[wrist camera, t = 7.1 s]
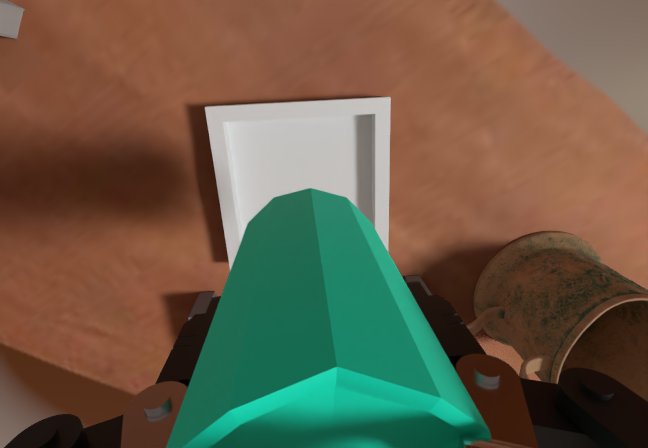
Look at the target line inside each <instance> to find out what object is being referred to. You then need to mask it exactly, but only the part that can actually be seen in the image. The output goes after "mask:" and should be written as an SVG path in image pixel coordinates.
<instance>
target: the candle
mask: <svg viewBox="0 0 648 448" xmlns="http://www.w3.org/2000/svg"><path fill="white" fill-rule="evenodd" d="M462 435H464V436H469V437H474V438H487V439H491V435H490V431H489V429H488V427H487V425H486V423H485V422H484V420H483V418H482V416H481V415H480V413H479V411H478V409H477V408H476V406H475V404H474V402H473V401H472V399H471V397H470V395H469V394H468V392H467V390H466V388H465V387H464V385H463V383H462V381H461V379H460V378H459V376H458V374H457V372H456V371H455V369H454V367H453V365H452V364H451V362H450V360H449V358H448V357H447V355H446V353H445V351H444V350H443V348H442V346H441V344H440V343H439V341H438V339H437V337H436V336H435V334H434V332H433V330H432V328H431V327H430V325H429V323H428V321H427V320H426V318H425V316H424V314H423V313H422V311H421V309H420V307H419V306H418V304H417V302H416V300H415V299H414V297H413V295H412V293H411V292H410V290H409V288H408V286H407V284H406V283H405V281H404V279H403V277H402V276H401V274H400V272H399V270H398V269H397V267H396V265H395V263H394V262H393V260H392V258H391V256H390V255H389V253H388V251H387V249H386V248H385V246H384V244H383V242H382V240H381V239H380V237H379V235H378V233H377V232H376V230H375V228H374V226H373V225H372V223H371V222H370V221H369V220H368V219H367V218H366V216H365V215H364V214H363V213H362V212H361V211H360V210H359V209H358V208H357V207H356V206H355V205H354V204H353V203H352V202H351V201H350V200H349V199H348V198H347V197H343V196H339V195H336V194H332V193H328V192H324V191H320V190H317V189H313V188H308V189H304V190H301V191H297V192H293V193H289V194H285V195H281V196H277V197H274V198H273V199H272V200H271V201H270V202H269V203H268V204H267V205H266V206H264V207H263V208H262V209H261V210H260V211H259V212H258V213H257V214H256V215H255V216H254V217H253V218H252V219H251V220H250V221H249V222H248V224H247V227H246V229H245V232H244V235H243V238H242V240H241V243H240V246H239V249H238V251H237V254H236V257H235V260H234V262H233V265H232V268H231V271H230V273H229V276H228V279H227V282H226V284H225V287H224V290H223V293H222V295H221V298H220V301H219V304H218V306H217V309H216V312H215V315H214V317H213V320H212V323H211V326H210V328H209V331H208V334H207V337H206V339H205V342H204V345H203V348H202V350H201V353H200V356H199V359H198V361H197V364H196V367H195V370H194V372H193V375H192V378H191V381H190V383H189V386H188V389H187V392H186V394H185V397H184V400H183V403H182V405H181V408H180V411H179V414H178V416H177V419H176V422H175V425H174V427H173V430H172V433H171V436H170V438H169V441H168V444H167V447H166V448H458V446H459V438H460V436H462Z"/></svg>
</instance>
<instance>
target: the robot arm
mask: <svg viewBox="0 0 648 448" xmlns="http://www.w3.org/2000/svg"><path fill="white" fill-rule="evenodd" d="M405 283H406V284H407V286H408V288H409V290H410V292H411V293H412V295H413V297H414V299H415V300H416V302H417V304H418V306H419V307H420V309H421V311H422V313H423V314H424V316H425V318H426V320H427V321H428V323H429V325H430V327H431V328H432V330H433V332H434V334H435V336H436V337H437V339H438V341H439V343H440V344H441V346H442V348H443V350H444V351H445V353H446V355H447V357H448V358H449V360H450V362H451V364H452V365H453V367H454V369H455V371H456V372H457V374H458V376H459V378H460V379H461V381H462V383H463V385H464V387H465V388H466V390H467V392H468V394H469V395H470V397H471V399H472V401H473V402H474V404H475V406H476V408H477V409H478V411H479V413H480V415H481V416H482V418H483V420H484V422H485V423H486V425H487V427H488V429H489V431H490V435H491V439H487V438H474V437H469V436H464V435H462V436H460V438H459V446H458V448H648V401H646V400H645V399H643V398H642V397H640V396H639V395H637V394H636V393H635V392H633V391H632V390H630V389H629V388H627V387H626V386H624V385H623V384H622V383H620V382H619V381H617V380H615V379H614V378H612V377H610V376H608V375H606V374H603V373H601V372H598V371H595V370H591V369H587V368H569V369H566V370H564V371H563V372H561V374H560V375H559V379H558V384H555V383H548V382H542V381H535V380H529V379H524V378H521V377H519V376H518V374H517V372H516V371H515V370H514V369H513V368H512V367H511V366H510V365H509V364H507V363H506V362H504V361H503V360H501V359H499V358H496V357H494V356H490V355H487V354H486V353H485V351H484V350H483V349H482V347H481V346H480V345H479V343H478V342H477V340H476V339H475V338H474V336H473V335H472V333H471V332H470V331H469V329H468V328H467V326H466V325H464V322H463V321H462V320H461V318H460V317H459V316H458V315H457V313H456V311H455V310H454V308H453V307H452V306H451V304H450V303H449V302H447V301H446V300H444V299H443V298H441V297H440V296H438V295H428V294H427V292H426V291H425V289H424V288H423V286H422V285H421V283H420V282H419V281H410V282H405ZM220 298H221V296H217V297H212V299H211V301H210V303H209V306H208V308H207V311H206V313H203V314H195V315H194V316H193V317H192V318H191V319H190V320H189V321H187V322H186V323H185V324H184V325H183V328H182V330H181V332H180V334H179V336H178V339H177V340H176V342H175V344H174V346H173V349H172V350H171V353H170V355H169V357H168V359H167V361H166V363H165V365H164V367H163V369H162V371H161V373H160V375H159V378H158V380H157V382H156V384H155V385H152V386H150V387H148V388H146V389H145V390H143V391H141V392H140V393H139V394H137V395H136V396H135V397H134V398H133V399H132V400H131V401H130V402H129V404H128V405H127V407H126V409H125V411H124V414H123V415H121V416H119V417H116V418H113V419H111V420H108V421H105V422H102V423H99V424H96V425H93V426H90V427H87V428H83V425H82V423H81V421H80V419H79V418H78V417H76V416H74V415H71V414H62V415H56V416H52V417H49V418H46V419H43V420H41V421H39V422H37V423H35V424H33V425H31V426H30V427H28V428H27V429H25V430H24V431H22V432H21V433H20V434H18V435H17V436H16V437H15V438H14V439H13V440H12V441H11V442H10V443H8V444H7V445H6V446H5V447H4V448H166V447H167V444H168V441H169V438H170V436H171V433H172V430H173V427H174V425H175V422H176V419H177V416H178V414H179V411H180V408H181V405H182V403H183V400H184V397H185V394H186V392H187V389H188V386H189V383H190V381H191V378H192V375H193V372H194V370H195V367H196V364H197V361H198V359H199V356H200V353H201V350H202V348H203V345H204V342H205V339H206V337H207V334H208V331H209V328H210V326H211V323H212V320H213V317H214V315H215V312H216V309H217V306H218V304H219V301H220Z"/></svg>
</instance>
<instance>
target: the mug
mask: <svg viewBox="0 0 648 448" xmlns="http://www.w3.org/2000/svg"><path fill="white" fill-rule="evenodd" d="M473 305H474V312H475V315H476V318H477V319H476V320H474V321H473V322H472V323H470V324H468V325H466V326H467V328H468V329H469V331H470V332H471V333H472V335H473V336H474V335H476V334H477V333H478V332H479V331H480V330H481V329H482V328H483V330H484V331H485V332H486V333H487V334H488V335H489V336H490V337H492V338H493V339H494V340H496V341H498V342H500V343H502V344H505V345H509V346H512V347H513V348H514V349H515V350H516V352H517V353H518V354H519V355H520V356H521V358H522V359H523V360H524V362H523V363H522V365H521V369H520V374H519V377H521V378H524V379H529V378H528V374H530V373H532V372H535V374H536V375H537V376H538V377H539V378H540V380H541V381H542V382H548V383H555V384H558V379H559V375H560V374H561V372H563V371H564V370H566V369H569V368H587V369H591V370H595V371H598V372H601V373H603V374H606V375H608V376H610V377H612V378H614V379H615V380H617V381H619V382H620V383H622V384H623V385H624V386H626V387H627V388H629V389H630V390H632V391H633V392H635V393H636V394H637V395H639V396H640V397H642V398H643V399H645V400H646V401H648V290H646V289H645V288H643V287H641V286H640V285H638V284H636V283H635V282H633V281H631V280H629V279H627V278H625V277H623V276H622V275H620V274H619V273H617V272H616V271H614V270H613V269H611V268H609V267H608V266H606V265H604V264H602V261H601V258H600V256H599V254H598V253H597V251H596V250H595V249H594V248H593V246H592V245H590V244H589V243H588V242H587V241H585V240H583V239H582V238H580V237H578V236H575V235H573V234H570V233H566V232H561V231H544V232H538V233H534V234H531V235H527V236H525V237H522V238H520V239H518V240H516V241H514V242H512V243H511V244H509V245H508V246H506V247H505V248H503V249H502V250H501V251H500V252H499V253H497V254H496V255H495V256H494V257H493V258H492V259H491V261H490V262H489V263H488V264H487V266H486V267H485V268H484V270H483V272H482V273H481V275H480V277H479V279H478V281H477V284H476V287H475V291H474V298H473Z"/></svg>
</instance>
